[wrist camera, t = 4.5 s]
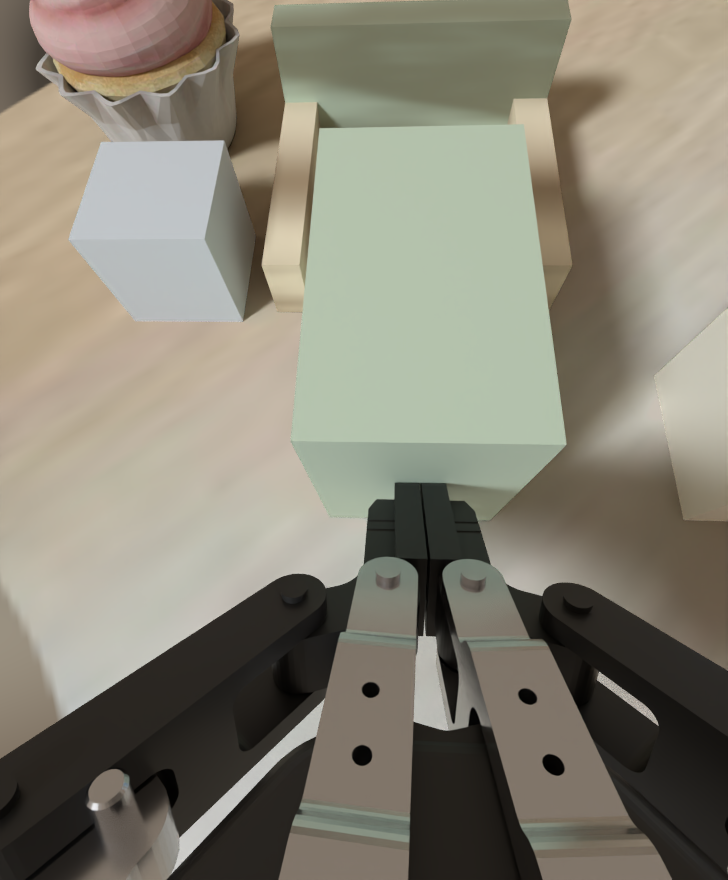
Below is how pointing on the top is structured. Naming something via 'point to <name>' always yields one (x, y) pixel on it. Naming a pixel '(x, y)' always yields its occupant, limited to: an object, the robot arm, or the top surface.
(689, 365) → the cream block
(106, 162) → the grey-blue block
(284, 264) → the birch bay
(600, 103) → the top surface
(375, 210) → the sage block
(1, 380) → the top surface
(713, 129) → the top surface
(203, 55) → the cupcake
